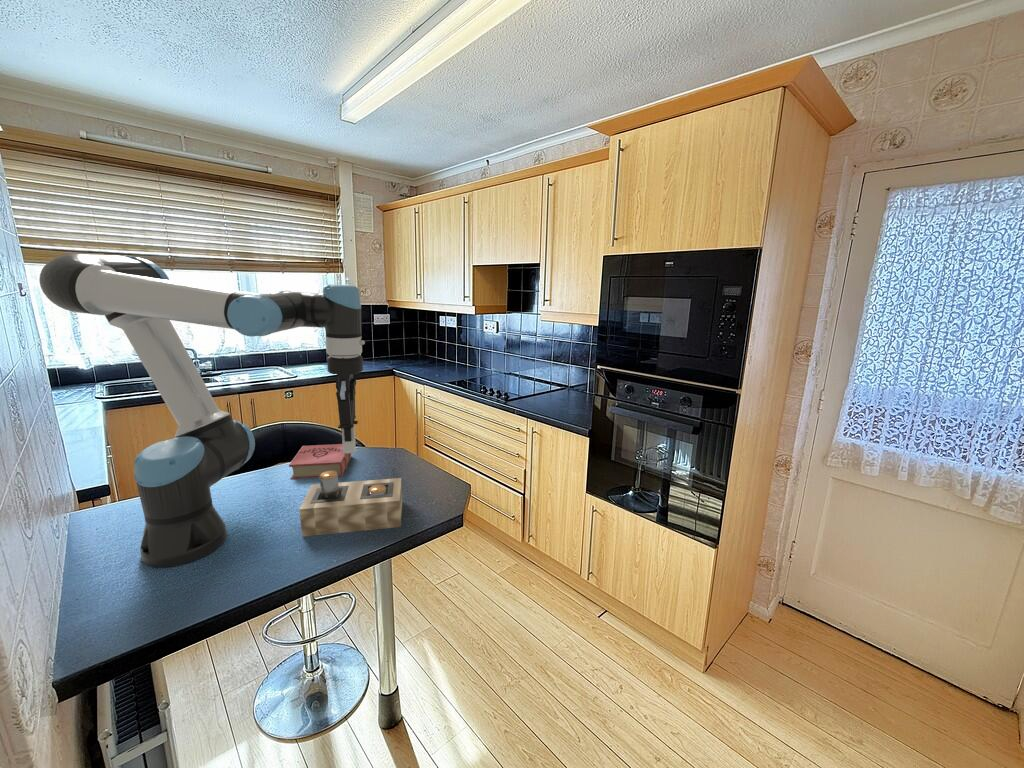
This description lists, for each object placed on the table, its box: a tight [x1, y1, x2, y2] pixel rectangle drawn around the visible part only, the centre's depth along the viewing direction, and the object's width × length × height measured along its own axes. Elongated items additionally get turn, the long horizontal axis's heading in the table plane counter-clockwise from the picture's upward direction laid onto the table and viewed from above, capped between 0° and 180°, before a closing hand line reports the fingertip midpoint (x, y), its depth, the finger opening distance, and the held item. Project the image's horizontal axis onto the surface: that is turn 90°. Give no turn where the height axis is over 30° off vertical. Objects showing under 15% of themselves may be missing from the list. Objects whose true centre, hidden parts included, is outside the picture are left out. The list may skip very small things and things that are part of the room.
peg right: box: [369, 485, 386, 496], centre depth 107 cm, size 4×4×7 cm
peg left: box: [318, 471, 340, 500], centre depth 104 cm, size 4×4×7 cm
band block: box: [299, 477, 403, 538], centre depth 106 cm, size 22×12×7 cm, turn 102°
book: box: [288, 443, 352, 480], centre depth 134 cm, size 14×15×5 cm
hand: (349, 451), depth 103 cm, fingers closed
